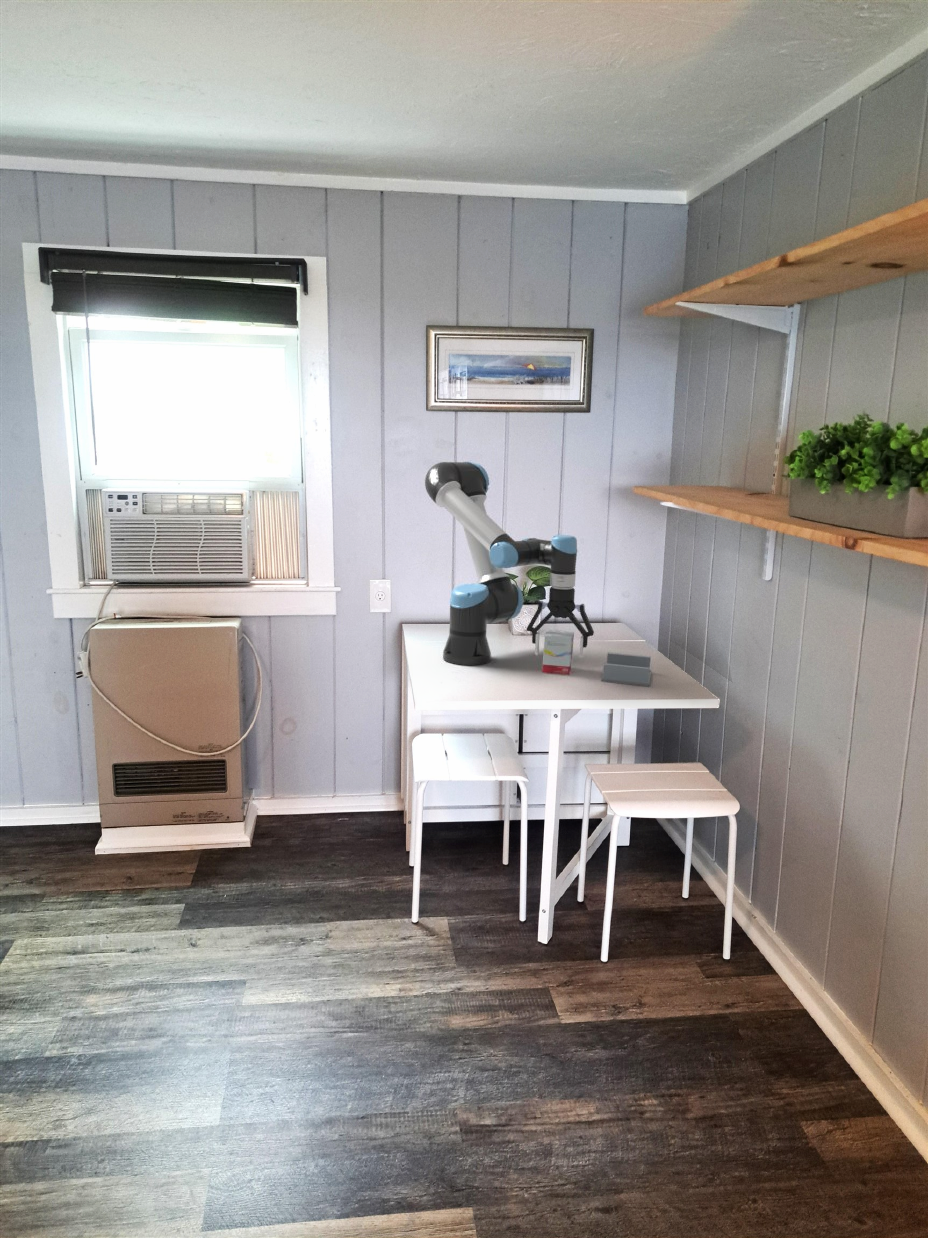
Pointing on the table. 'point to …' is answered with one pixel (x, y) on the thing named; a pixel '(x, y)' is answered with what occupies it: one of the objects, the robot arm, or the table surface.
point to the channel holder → (627, 669)
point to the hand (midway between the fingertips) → (558, 655)
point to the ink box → (558, 652)
